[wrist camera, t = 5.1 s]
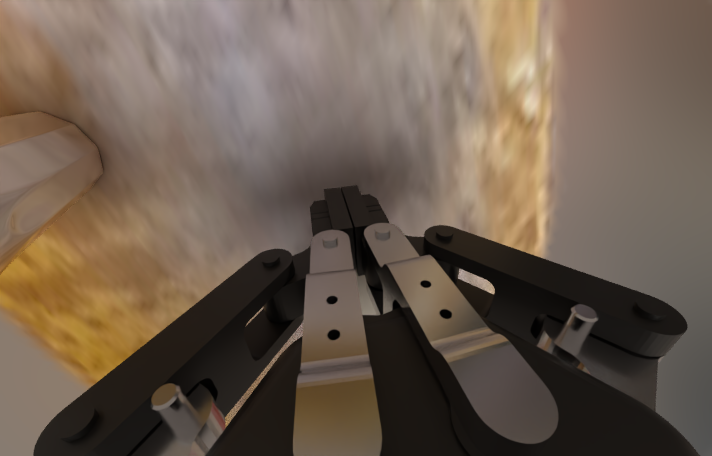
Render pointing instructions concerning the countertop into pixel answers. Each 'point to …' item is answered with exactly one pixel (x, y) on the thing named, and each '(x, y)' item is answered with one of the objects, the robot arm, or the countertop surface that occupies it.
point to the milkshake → (40, 176)
